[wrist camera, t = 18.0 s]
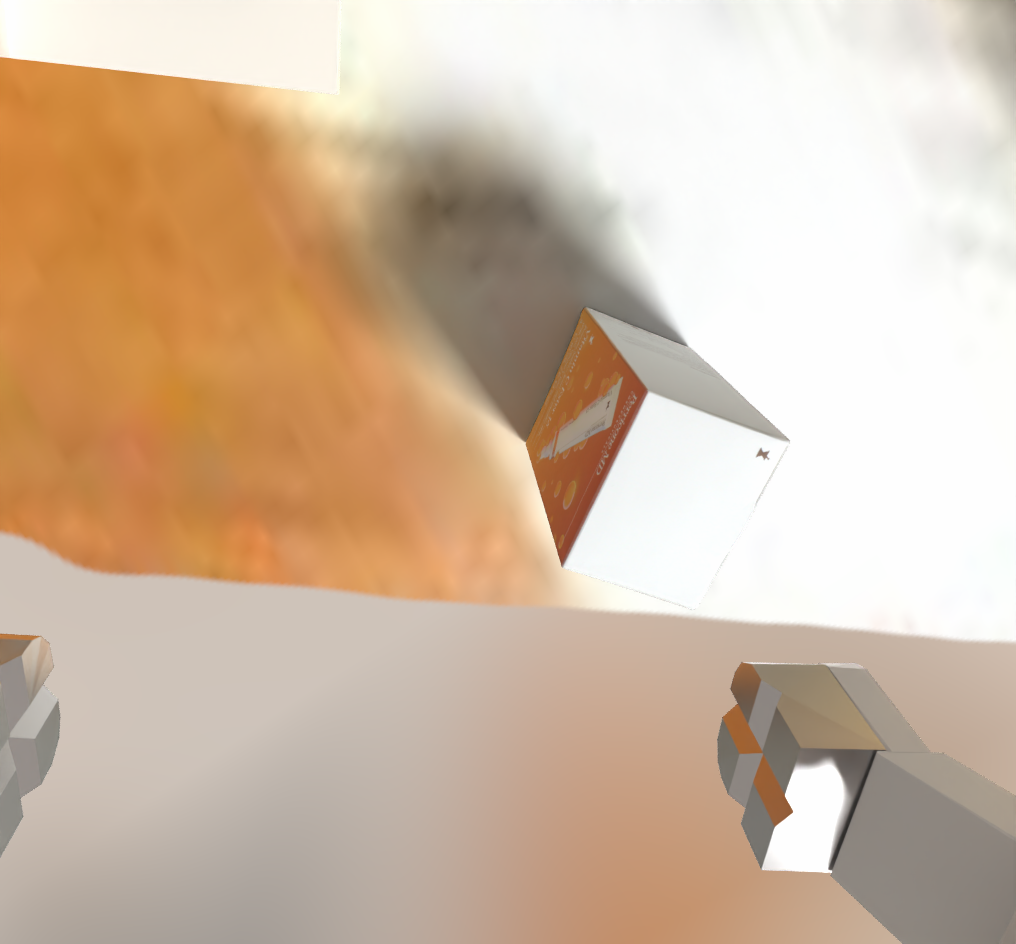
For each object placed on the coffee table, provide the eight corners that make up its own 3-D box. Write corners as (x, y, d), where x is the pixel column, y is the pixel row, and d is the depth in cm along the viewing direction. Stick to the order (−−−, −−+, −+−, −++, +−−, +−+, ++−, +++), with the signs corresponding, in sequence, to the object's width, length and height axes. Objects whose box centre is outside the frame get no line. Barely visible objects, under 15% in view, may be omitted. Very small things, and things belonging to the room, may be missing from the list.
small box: (582, 303, 41) (648, 385, 30) (692, 346, 43) (798, 440, 31) (520, 445, 44) (558, 572, 32) (626, 481, 46) (700, 614, 34)
